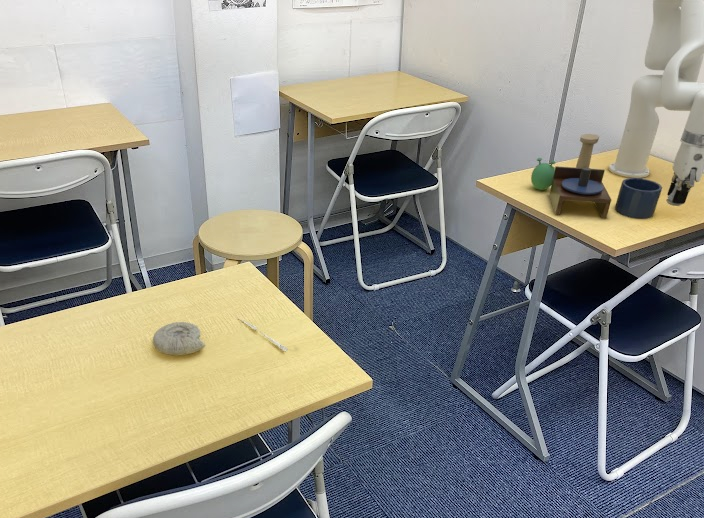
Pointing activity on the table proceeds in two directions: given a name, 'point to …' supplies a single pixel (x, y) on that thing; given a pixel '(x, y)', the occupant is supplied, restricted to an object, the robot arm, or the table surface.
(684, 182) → the rook chess piece
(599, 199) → the shelf
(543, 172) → the alien toy
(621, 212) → the pot
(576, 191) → the lid
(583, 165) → the handle
